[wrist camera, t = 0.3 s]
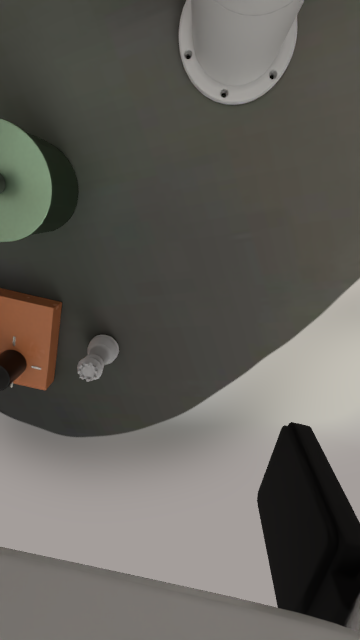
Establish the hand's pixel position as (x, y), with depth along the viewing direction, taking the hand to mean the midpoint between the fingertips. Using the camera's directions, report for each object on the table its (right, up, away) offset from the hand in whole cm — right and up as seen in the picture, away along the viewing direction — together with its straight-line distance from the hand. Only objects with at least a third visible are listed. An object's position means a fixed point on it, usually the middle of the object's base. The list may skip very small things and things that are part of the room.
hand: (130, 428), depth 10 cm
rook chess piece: (-10, -1, +39) cm, 40 cm away
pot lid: (-17, +18, +24) cm, 35 cm away
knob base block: (-21, +1, +39) cm, 45 cm away
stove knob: (-22, -3, +37) cm, 44 cm away
